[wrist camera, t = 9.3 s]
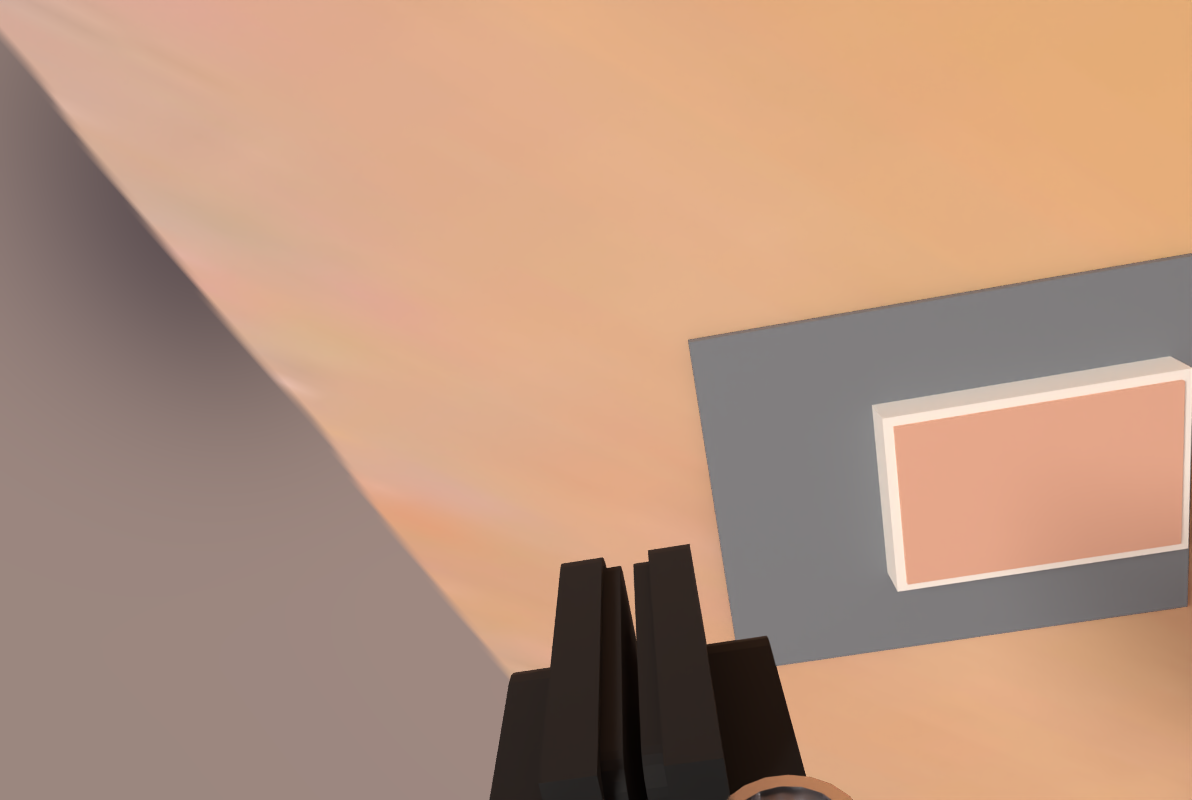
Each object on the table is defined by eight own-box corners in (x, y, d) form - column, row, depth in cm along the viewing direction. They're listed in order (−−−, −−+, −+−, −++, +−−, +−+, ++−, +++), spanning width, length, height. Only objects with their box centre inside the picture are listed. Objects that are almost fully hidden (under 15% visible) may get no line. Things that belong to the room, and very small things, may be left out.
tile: (871, 405, 39) (1170, 356, 38) (887, 572, 42) (1167, 530, 41) (883, 420, 38) (1195, 369, 37) (899, 594, 40) (1191, 550, 39)
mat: (1190, 253, 37) (1196, 255, 37) (1182, 601, 43) (1187, 606, 42) (687, 340, 39) (688, 342, 38) (739, 665, 44) (740, 670, 44)
